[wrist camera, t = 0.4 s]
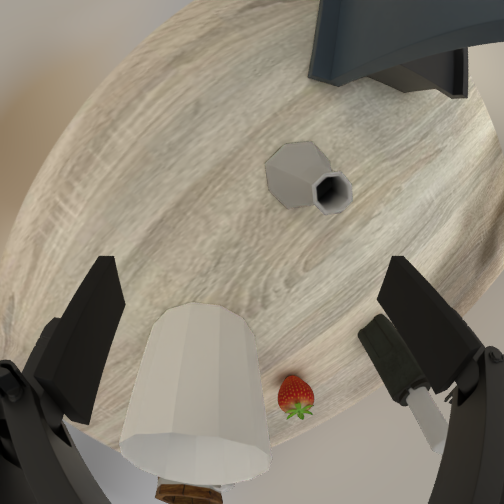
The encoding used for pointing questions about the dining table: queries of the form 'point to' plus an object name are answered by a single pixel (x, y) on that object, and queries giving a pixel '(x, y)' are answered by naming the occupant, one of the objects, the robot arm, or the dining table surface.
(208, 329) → the container
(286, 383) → the fruit
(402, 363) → the candle
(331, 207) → the flask
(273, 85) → the dining table surface
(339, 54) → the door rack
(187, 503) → the mug
